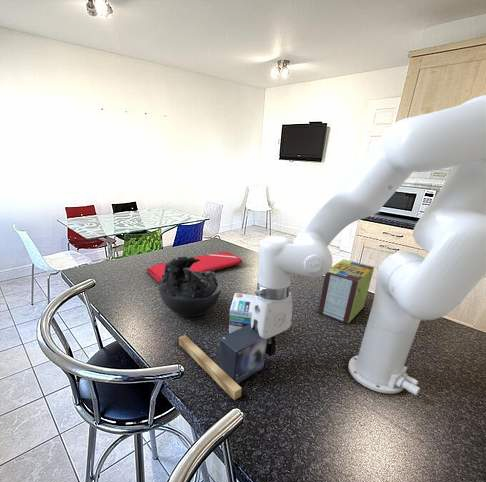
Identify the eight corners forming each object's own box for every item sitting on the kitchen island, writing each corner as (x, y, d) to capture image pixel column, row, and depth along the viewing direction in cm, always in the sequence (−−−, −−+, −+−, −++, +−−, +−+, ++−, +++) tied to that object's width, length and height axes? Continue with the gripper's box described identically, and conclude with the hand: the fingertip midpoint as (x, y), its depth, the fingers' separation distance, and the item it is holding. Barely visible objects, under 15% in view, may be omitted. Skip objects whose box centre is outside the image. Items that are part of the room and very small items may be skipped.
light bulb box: (251, 346, 82) (254, 313, 77) (227, 342, 83) (229, 310, 79) (254, 325, 91) (256, 294, 87) (232, 322, 93) (234, 292, 88)
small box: (234, 388, 67) (236, 352, 63) (216, 372, 72) (217, 337, 68) (265, 369, 74) (269, 334, 69) (246, 355, 78) (249, 322, 74)
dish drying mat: (146, 271, 128) (146, 263, 127) (224, 256, 148) (224, 249, 146) (160, 285, 116) (159, 276, 114) (243, 266, 135) (243, 259, 134)
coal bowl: (183, 292, 110) (182, 245, 103) (230, 307, 101) (233, 256, 94) (147, 317, 94) (143, 263, 87) (200, 336, 85) (200, 278, 78)
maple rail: (241, 396, 65) (241, 388, 64) (234, 400, 64) (234, 392, 63) (185, 342, 83) (185, 334, 82) (179, 344, 82) (178, 337, 81)
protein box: (364, 307, 103) (374, 266, 97) (348, 324, 93) (359, 280, 87) (334, 297, 110) (343, 258, 103) (316, 312, 99) (324, 270, 93)
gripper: (260, 304, 62) (256, 372, 69) (306, 286, 70) (298, 349, 77) (238, 292, 68) (237, 355, 75) (283, 276, 75) (277, 335, 83)
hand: (268, 352), depth 76 cm, fingers closed
